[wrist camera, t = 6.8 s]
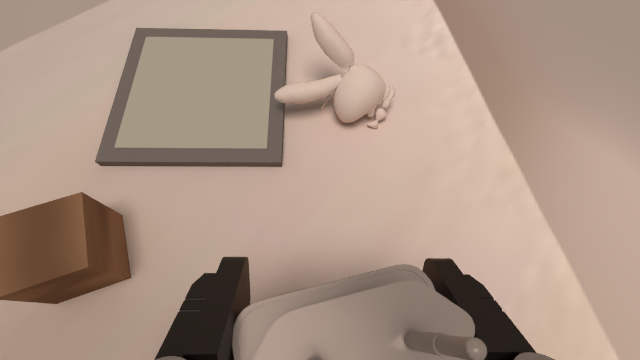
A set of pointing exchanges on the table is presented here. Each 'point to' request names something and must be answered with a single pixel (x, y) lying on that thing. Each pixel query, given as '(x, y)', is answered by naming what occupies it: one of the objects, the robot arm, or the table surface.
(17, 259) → the walnut block
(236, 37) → the pad
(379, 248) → the table surface
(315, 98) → the rabbit figurine
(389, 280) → the power adapter
